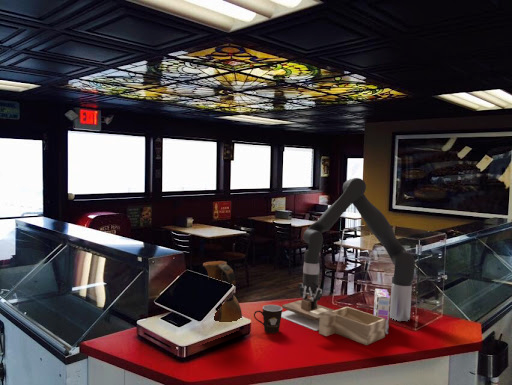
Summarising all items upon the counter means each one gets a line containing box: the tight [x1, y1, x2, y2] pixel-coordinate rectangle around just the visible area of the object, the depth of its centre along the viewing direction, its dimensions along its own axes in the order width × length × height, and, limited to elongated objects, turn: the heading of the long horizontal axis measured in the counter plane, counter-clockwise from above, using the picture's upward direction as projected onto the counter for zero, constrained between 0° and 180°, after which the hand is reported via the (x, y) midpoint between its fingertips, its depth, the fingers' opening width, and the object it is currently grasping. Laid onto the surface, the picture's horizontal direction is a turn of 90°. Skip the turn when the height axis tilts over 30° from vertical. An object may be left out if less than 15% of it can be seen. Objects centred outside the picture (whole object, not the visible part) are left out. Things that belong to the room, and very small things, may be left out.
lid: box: [281, 297, 336, 321], centre depth 205 cm, size 15×21×6 cm
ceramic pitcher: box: [202, 260, 243, 322], centre depth 184 cm, size 20×20×30 cm
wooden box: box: [318, 306, 386, 346], centre depth 186 cm, size 20×20×8 cm
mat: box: [281, 310, 320, 332], centre depth 206 cm, size 20×25×1 cm
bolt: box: [310, 308, 329, 318], centre depth 183 cm, size 8×4×2 cm, turn 133°
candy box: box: [373, 288, 391, 335], centre depth 196 cm, size 14×6×16 cm, turn 168°
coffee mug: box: [253, 304, 284, 334], centre depth 188 cm, size 12×9×10 cm
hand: (309, 307), depth 205 cm, fingers closed on lid, 4 cm apart
